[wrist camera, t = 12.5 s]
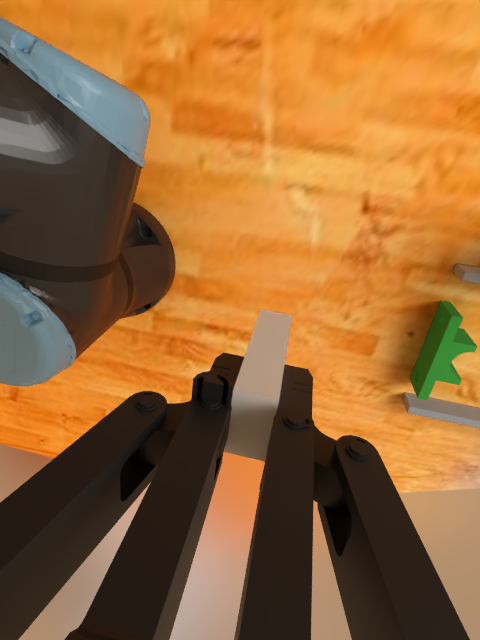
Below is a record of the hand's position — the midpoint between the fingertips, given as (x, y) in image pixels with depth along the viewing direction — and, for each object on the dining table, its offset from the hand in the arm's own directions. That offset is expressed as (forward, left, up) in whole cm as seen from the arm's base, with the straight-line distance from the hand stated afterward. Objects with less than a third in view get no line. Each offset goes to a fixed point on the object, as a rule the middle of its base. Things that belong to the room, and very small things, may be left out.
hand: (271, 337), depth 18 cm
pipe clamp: (+20, -12, -29) cm, 37 cm away
